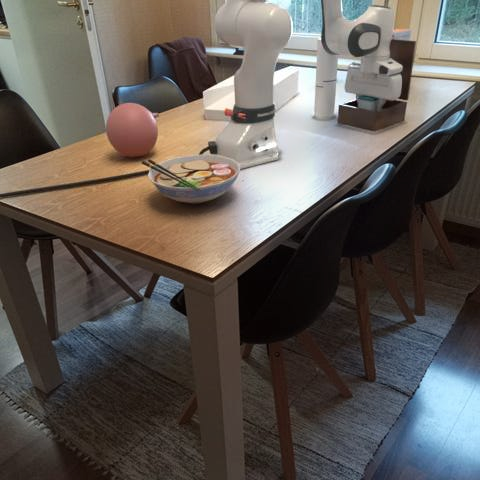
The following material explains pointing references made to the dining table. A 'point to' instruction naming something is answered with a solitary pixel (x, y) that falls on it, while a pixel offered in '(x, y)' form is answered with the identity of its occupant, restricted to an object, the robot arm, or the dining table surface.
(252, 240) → the dining table surface
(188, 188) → the ramen bowl
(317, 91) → the cylindrical container
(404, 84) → the lid
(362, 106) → the white teal-lidded container
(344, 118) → the chest
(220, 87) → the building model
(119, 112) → the balloon
